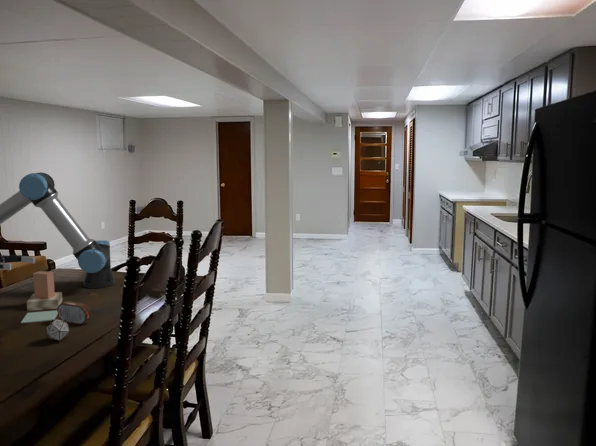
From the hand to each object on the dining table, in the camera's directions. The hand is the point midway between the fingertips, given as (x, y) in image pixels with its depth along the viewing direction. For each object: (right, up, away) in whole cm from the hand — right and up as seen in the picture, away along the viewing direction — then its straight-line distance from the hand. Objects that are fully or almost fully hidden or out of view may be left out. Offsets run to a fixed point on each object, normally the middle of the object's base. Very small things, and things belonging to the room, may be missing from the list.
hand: (22, 263), depth 211 cm
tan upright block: (+10, -15, 0) cm, 18 cm away
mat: (+16, -21, -14) cm, 30 cm away
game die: (+35, -25, -38) cm, 57 cm away
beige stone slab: (+10, -19, +1) cm, 21 cm away
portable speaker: (+32, -22, -20) cm, 44 cm away
